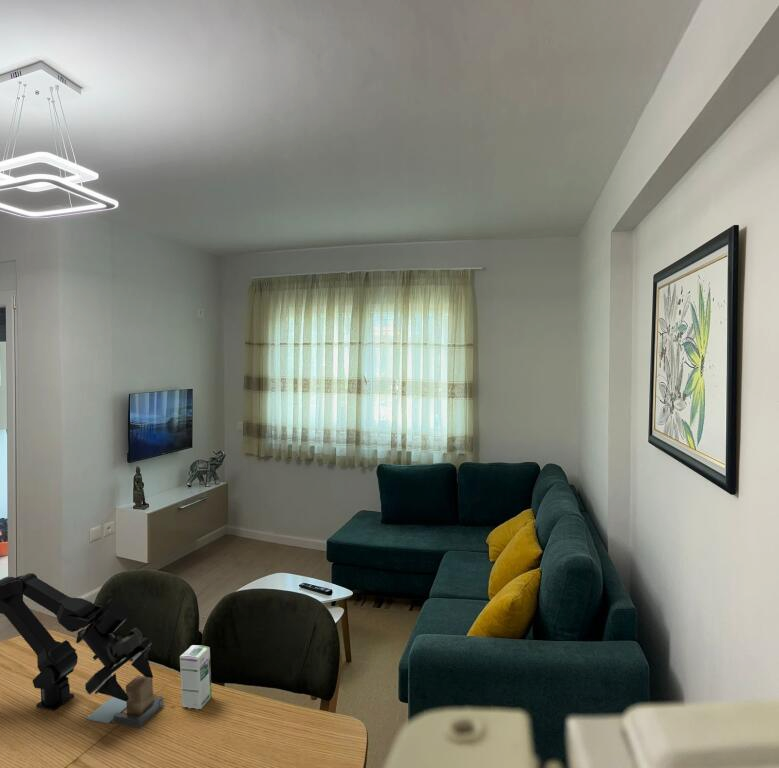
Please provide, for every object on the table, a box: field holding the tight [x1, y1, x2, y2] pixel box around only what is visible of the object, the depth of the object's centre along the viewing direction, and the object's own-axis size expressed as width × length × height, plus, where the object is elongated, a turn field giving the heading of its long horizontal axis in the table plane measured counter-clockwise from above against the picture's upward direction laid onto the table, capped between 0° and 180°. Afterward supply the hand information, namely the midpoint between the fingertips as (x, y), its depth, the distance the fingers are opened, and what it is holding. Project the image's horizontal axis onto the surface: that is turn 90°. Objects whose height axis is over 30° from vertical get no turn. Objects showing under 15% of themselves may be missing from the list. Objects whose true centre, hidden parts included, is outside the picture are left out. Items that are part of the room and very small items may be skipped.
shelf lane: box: [112, 696, 164, 729], centre depth 141 cm, size 8×9×2 cm
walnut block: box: [125, 675, 154, 716], centre depth 141 cm, size 4×4×9 cm
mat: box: [85, 696, 127, 725], centre depth 144 cm, size 7×10×1 cm
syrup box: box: [179, 644, 213, 710], centre depth 146 cm, size 6×6×14 cm
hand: (140, 689), depth 141 cm, fingers open, 9 cm apart
